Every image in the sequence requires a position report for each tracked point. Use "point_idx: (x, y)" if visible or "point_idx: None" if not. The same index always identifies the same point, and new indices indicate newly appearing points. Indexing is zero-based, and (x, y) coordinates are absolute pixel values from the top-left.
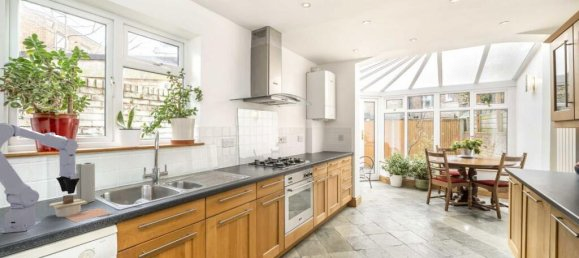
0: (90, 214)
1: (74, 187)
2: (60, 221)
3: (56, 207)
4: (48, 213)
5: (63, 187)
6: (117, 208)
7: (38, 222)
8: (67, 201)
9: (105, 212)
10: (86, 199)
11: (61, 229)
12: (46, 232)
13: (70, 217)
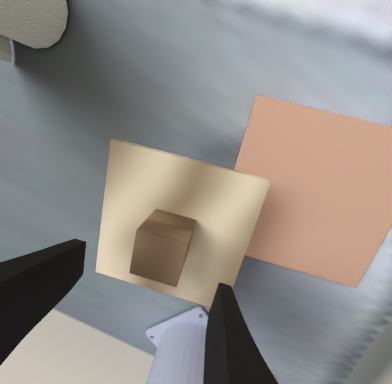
0: (323, 194)
1: (242, 337)
2: (258, 280)
3: (207, 306)
4: (92, 225)
5: (51, 294)
6: (382, 39)
7: (199, 314)
8: (186, 254)
9: (387, 144)
10: (43, 28)
11: (360, 336)
12: (330, 361)
13: (263, 249)
